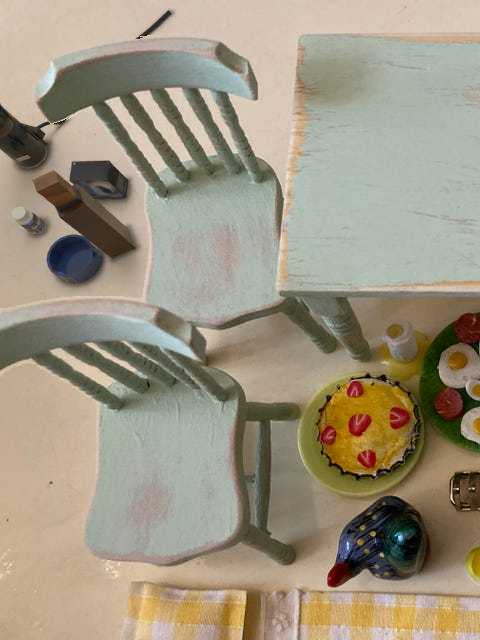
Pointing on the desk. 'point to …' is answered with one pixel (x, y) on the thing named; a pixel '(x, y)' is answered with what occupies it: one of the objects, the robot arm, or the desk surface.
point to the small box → (99, 179)
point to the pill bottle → (28, 220)
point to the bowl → (74, 258)
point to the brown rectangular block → (98, 225)
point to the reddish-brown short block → (57, 190)
